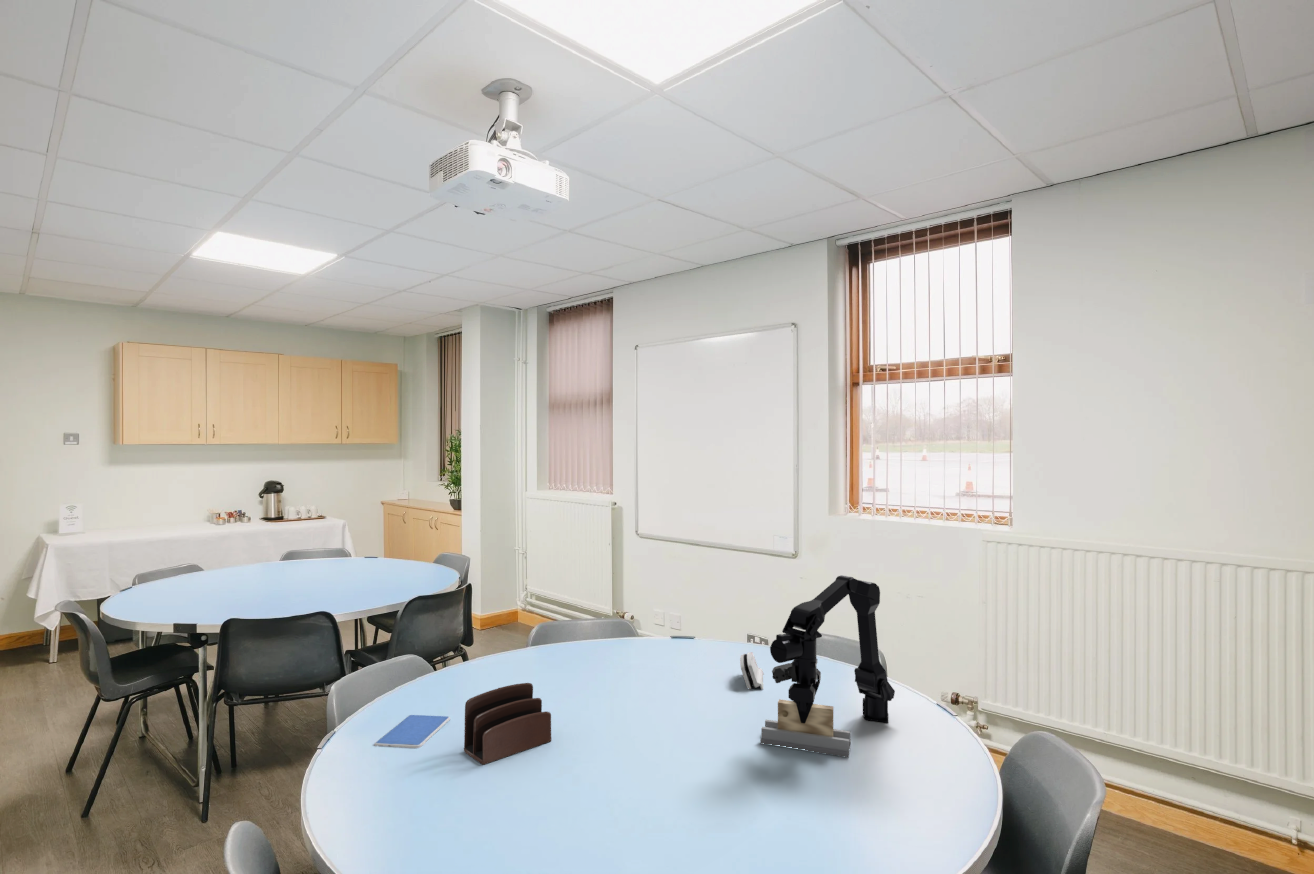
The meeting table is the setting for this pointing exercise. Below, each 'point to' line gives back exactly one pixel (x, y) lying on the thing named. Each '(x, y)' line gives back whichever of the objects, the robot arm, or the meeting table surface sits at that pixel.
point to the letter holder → (504, 723)
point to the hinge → (751, 671)
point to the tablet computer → (413, 731)
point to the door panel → (815, 723)
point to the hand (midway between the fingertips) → (805, 716)
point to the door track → (806, 739)
